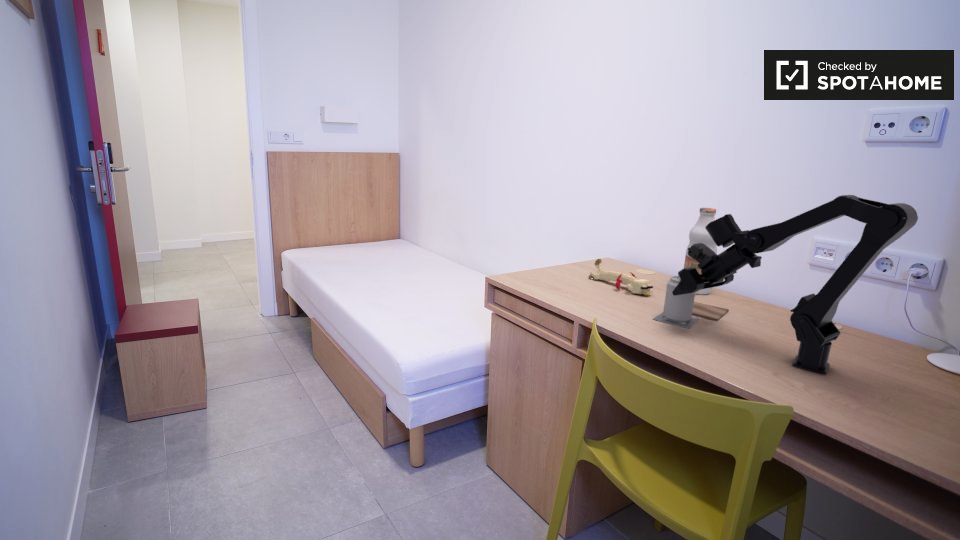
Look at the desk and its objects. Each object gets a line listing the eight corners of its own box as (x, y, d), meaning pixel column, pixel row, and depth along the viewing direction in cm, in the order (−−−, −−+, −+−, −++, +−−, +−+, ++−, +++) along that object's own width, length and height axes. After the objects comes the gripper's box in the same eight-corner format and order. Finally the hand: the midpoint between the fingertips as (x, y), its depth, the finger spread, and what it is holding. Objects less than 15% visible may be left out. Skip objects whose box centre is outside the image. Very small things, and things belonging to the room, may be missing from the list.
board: (717, 321, 138) (717, 319, 138) (674, 311, 145) (674, 309, 145) (728, 311, 147) (728, 309, 147) (687, 302, 154) (687, 300, 154)
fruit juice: (674, 287, 170) (686, 206, 163) (698, 286, 172) (711, 206, 165) (692, 295, 161) (705, 210, 154) (716, 294, 164) (730, 210, 157)
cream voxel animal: (584, 283, 176) (640, 297, 155) (584, 259, 174) (641, 270, 153) (604, 280, 181) (660, 293, 160) (605, 257, 179) (662, 267, 159)
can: (693, 325, 134) (700, 282, 131) (664, 322, 136) (670, 280, 132) (687, 316, 141) (694, 275, 138) (660, 313, 143) (666, 273, 140)
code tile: (689, 328, 132) (689, 328, 132) (652, 319, 138) (652, 318, 138) (700, 319, 139) (700, 319, 139) (665, 311, 145) (665, 310, 145)
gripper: (730, 232, 132) (686, 263, 144) (690, 238, 122) (647, 270, 133) (754, 267, 128) (707, 296, 140) (715, 276, 118) (668, 306, 129)
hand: (683, 291), depth 136 cm, fingers open, 9 cm apart
